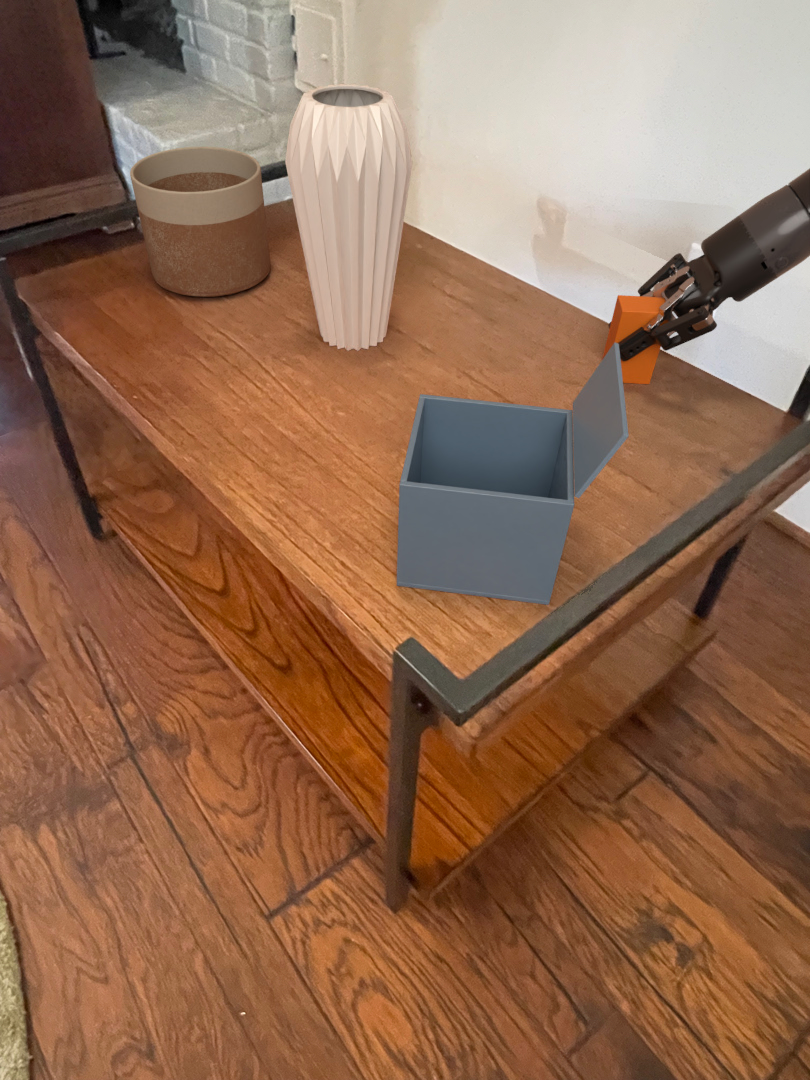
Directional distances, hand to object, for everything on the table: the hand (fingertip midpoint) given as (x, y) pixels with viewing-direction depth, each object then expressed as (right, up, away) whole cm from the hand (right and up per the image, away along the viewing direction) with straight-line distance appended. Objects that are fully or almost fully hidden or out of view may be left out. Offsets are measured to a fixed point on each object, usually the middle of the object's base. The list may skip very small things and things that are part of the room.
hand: (616, 343), depth 85 cm
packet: (+2, -3, +3) cm, 4 cm away
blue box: (-18, -23, -18) cm, 34 cm away
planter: (-50, +14, +18) cm, 55 cm away
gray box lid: (-10, -13, -29) cm, 33 cm away
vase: (-30, +3, +8) cm, 32 cm away
